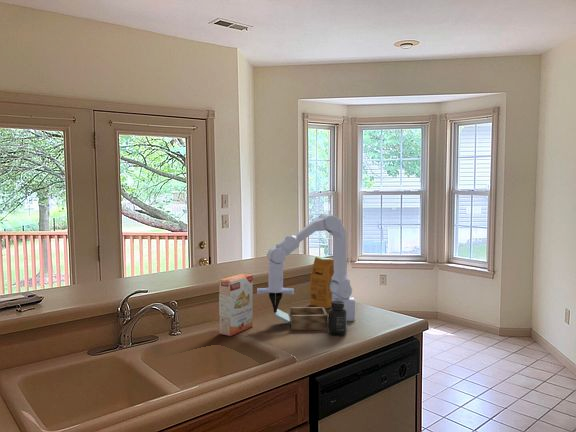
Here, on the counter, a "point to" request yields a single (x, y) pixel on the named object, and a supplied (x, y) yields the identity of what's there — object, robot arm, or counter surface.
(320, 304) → the coffee package
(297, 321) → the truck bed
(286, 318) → the panel
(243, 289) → the cracker box
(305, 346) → the counter surface
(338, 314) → the supplement bottle
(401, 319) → the counter surface
